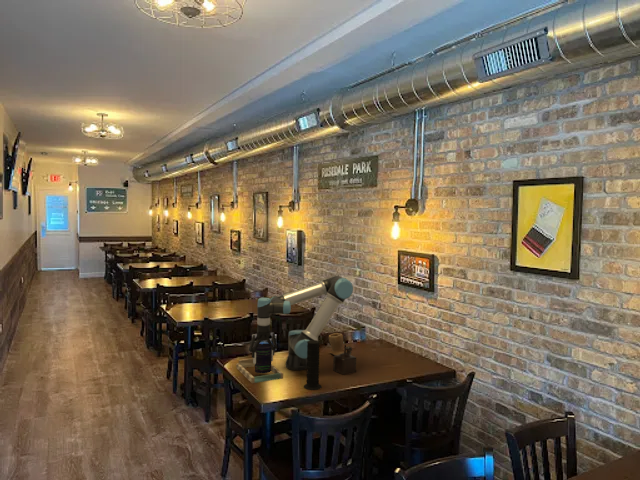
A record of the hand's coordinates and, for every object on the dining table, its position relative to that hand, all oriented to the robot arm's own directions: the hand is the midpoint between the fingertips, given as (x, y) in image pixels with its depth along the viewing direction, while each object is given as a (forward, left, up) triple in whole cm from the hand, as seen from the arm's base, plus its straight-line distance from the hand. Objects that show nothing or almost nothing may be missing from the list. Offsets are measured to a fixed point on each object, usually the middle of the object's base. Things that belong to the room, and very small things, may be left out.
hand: (263, 361), depth 278 cm
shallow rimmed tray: (+5, -5, -9) cm, 11 cm away
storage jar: (0, 0, -5) cm, 5 cm away
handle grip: (-33, +6, -9) cm, 34 cm away
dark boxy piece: (-45, -24, -9) cm, 52 cm away
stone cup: (-31, -56, -9) cm, 65 cm away
